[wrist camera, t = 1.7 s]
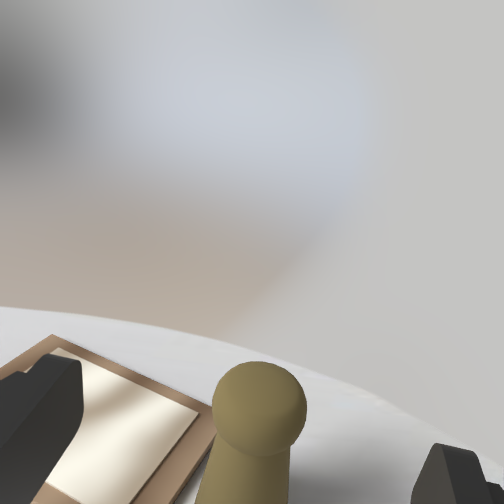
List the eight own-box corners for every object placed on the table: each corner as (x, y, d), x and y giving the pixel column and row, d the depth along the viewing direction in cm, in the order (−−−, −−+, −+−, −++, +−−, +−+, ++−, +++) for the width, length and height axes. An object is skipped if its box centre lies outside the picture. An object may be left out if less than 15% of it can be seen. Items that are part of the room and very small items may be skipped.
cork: (304, 508, 30) (340, 381, 25) (248, 586, 25) (279, 450, 20) (233, 454, 33) (252, 332, 28) (172, 515, 28) (182, 382, 23)
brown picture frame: (227, 422, 35) (229, 412, 35) (129, 568, 25) (129, 558, 25) (52, 341, 41) (51, 332, 40) (-85, 433, 31) (-88, 423, 30)
